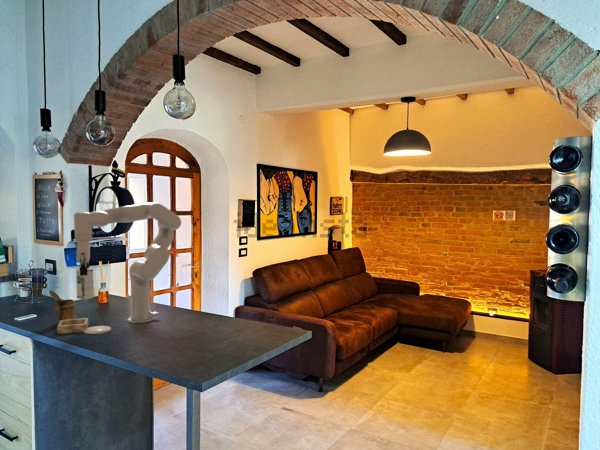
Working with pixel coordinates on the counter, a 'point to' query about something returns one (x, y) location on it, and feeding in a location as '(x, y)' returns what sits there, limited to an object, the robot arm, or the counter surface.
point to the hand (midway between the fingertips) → (84, 273)
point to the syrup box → (85, 284)
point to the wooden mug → (64, 308)
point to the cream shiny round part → (97, 329)
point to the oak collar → (72, 325)
